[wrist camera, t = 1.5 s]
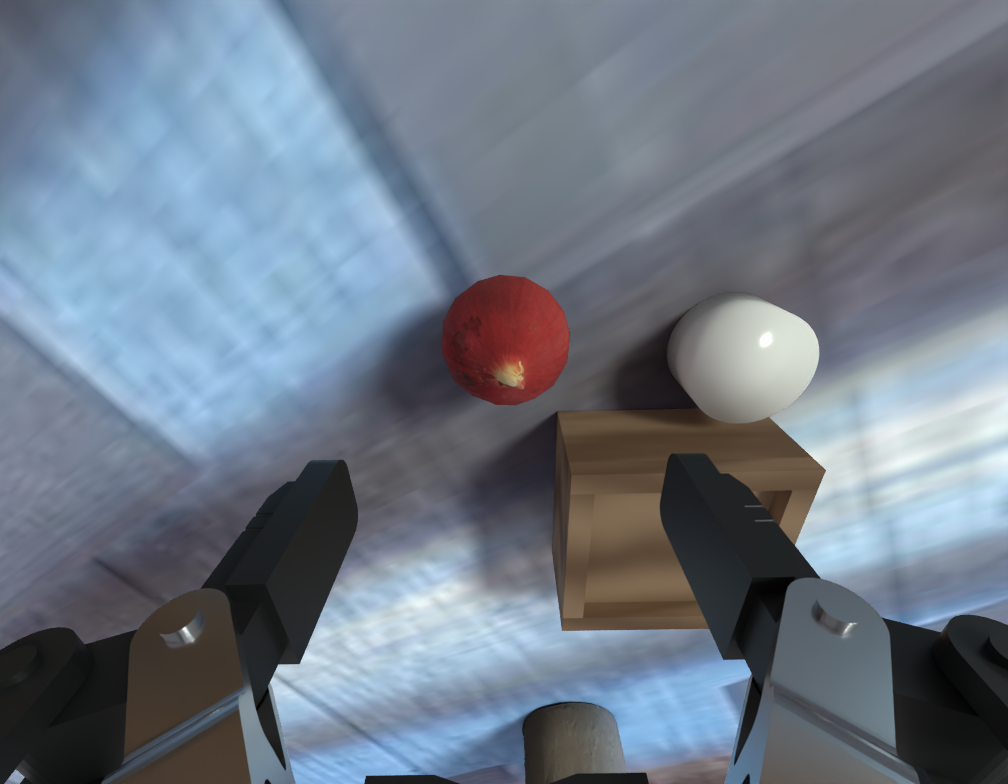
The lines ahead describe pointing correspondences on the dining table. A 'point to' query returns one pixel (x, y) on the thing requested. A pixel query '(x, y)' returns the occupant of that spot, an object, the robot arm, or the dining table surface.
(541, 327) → the onion
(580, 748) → the pillar candle
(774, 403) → the white rounded pebble
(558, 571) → the brown open square tray
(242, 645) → the robot arm
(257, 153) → the dining table surface
